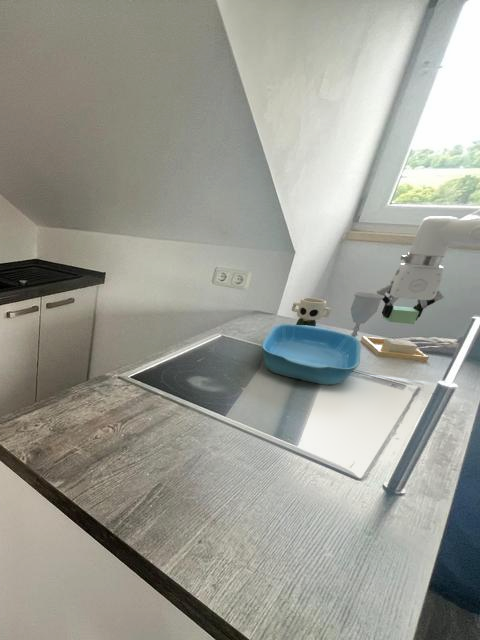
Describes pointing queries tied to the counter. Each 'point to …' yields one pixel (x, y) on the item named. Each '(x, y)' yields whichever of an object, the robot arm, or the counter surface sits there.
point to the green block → (403, 315)
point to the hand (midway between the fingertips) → (399, 317)
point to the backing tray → (376, 346)
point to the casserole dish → (311, 353)
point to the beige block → (399, 346)
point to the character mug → (310, 311)
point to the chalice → (364, 308)
